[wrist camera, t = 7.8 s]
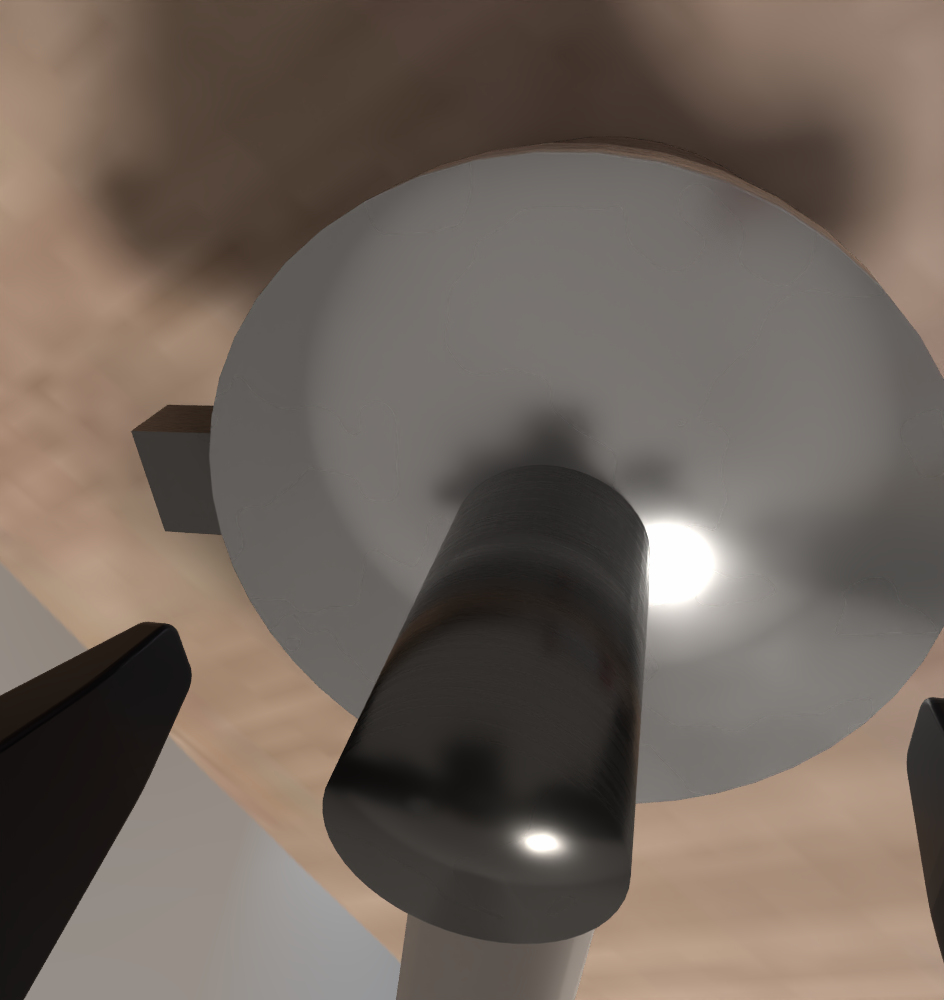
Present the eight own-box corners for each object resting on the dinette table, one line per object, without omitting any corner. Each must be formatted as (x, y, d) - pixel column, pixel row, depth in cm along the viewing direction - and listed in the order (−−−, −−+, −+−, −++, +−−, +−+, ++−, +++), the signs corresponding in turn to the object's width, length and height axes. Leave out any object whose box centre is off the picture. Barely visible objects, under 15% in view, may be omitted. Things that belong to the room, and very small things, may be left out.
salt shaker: (416, 705, 24) (198, 1250, 13) (593, 688, 22) (505, 1319, 11) (478, 829, 27) (337, 1373, 16) (643, 824, 24) (609, 1449, 14)
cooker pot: (1064, 104, 13) (1301, 150, 8) (934, 584, 18) (1030, 797, 13) (225, 162, 17) (29, 216, 12) (311, 544, 22) (200, 696, 17)
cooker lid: (1057, 110, 8) (1625, 232, 3) (871, 797, 14) (977, 1232, 9) (161, 167, 11) (-284, 279, 6) (307, 723, 16) (141, 1025, 11)
